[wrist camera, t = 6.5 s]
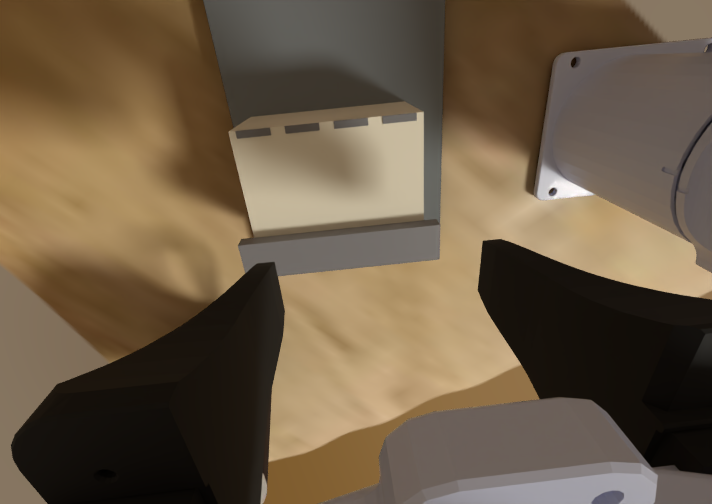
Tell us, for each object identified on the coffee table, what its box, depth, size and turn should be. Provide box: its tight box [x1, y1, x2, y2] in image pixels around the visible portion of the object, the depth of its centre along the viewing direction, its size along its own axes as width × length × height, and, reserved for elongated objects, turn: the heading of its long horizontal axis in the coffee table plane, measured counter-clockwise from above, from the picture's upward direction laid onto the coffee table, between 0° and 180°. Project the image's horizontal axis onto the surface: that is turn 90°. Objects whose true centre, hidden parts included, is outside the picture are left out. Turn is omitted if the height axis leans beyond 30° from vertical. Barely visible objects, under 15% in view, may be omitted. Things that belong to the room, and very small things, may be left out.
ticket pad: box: [228, 101, 440, 276], centre depth 18 cm, size 9×7×5 cm
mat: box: [203, 0, 445, 224], centre depth 18 cm, size 11×22×1 cm, turn 5°
